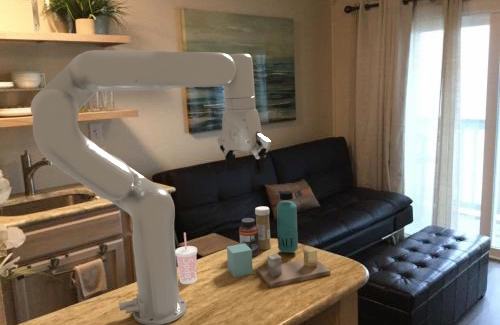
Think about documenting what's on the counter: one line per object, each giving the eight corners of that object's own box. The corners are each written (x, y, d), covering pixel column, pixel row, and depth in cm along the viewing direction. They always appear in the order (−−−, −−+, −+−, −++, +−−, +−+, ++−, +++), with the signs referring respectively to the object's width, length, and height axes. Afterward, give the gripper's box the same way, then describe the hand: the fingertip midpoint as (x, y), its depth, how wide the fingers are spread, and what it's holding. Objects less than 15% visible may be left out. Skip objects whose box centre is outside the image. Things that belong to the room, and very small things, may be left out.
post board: (270, 287, 117) (269, 265, 116) (257, 272, 126) (256, 252, 125) (330, 274, 123) (330, 253, 122) (313, 261, 132) (312, 241, 131)
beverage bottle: (292, 247, 143) (290, 187, 139) (302, 255, 137) (300, 192, 133) (274, 251, 141) (271, 190, 137) (283, 258, 135) (280, 195, 131)
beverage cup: (174, 285, 121) (170, 236, 118) (180, 275, 127) (176, 229, 124) (196, 285, 120) (192, 236, 117) (201, 275, 126) (198, 228, 123)
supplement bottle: (247, 249, 144) (246, 215, 142) (263, 252, 140) (261, 218, 138) (236, 255, 139) (234, 221, 137) (252, 259, 136) (250, 223, 134)
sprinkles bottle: (273, 247, 144) (272, 208, 141) (262, 251, 142) (260, 210, 139) (265, 243, 148) (263, 205, 145) (254, 247, 145) (252, 207, 143)
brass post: (308, 268, 124) (308, 252, 123) (303, 265, 127) (303, 248, 126) (317, 266, 125) (316, 250, 124) (312, 263, 128) (312, 246, 127)
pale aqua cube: (234, 277, 124) (232, 253, 123) (228, 269, 129) (226, 246, 128) (252, 273, 126) (251, 249, 124) (246, 266, 131) (245, 243, 130)
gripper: (205, 106, 113) (211, 171, 116) (257, 106, 102) (262, 178, 105) (225, 103, 118) (230, 166, 122) (277, 103, 107) (281, 171, 110)
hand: (245, 171), depth 113 cm, fingers open, 9 cm apart
